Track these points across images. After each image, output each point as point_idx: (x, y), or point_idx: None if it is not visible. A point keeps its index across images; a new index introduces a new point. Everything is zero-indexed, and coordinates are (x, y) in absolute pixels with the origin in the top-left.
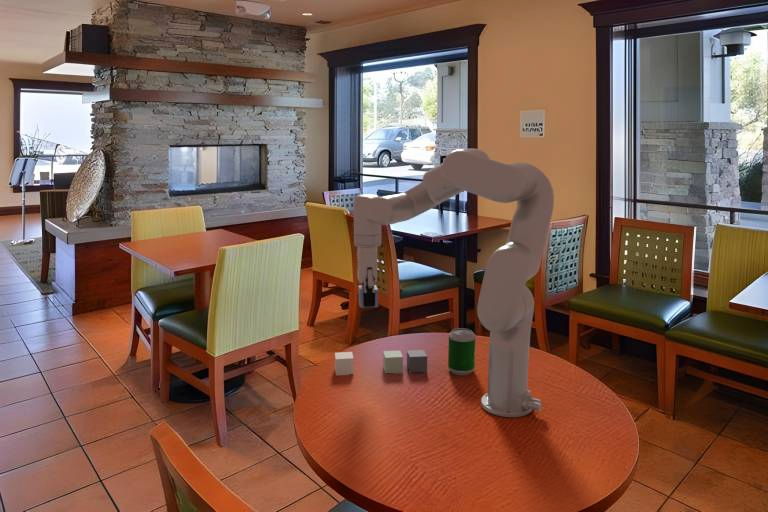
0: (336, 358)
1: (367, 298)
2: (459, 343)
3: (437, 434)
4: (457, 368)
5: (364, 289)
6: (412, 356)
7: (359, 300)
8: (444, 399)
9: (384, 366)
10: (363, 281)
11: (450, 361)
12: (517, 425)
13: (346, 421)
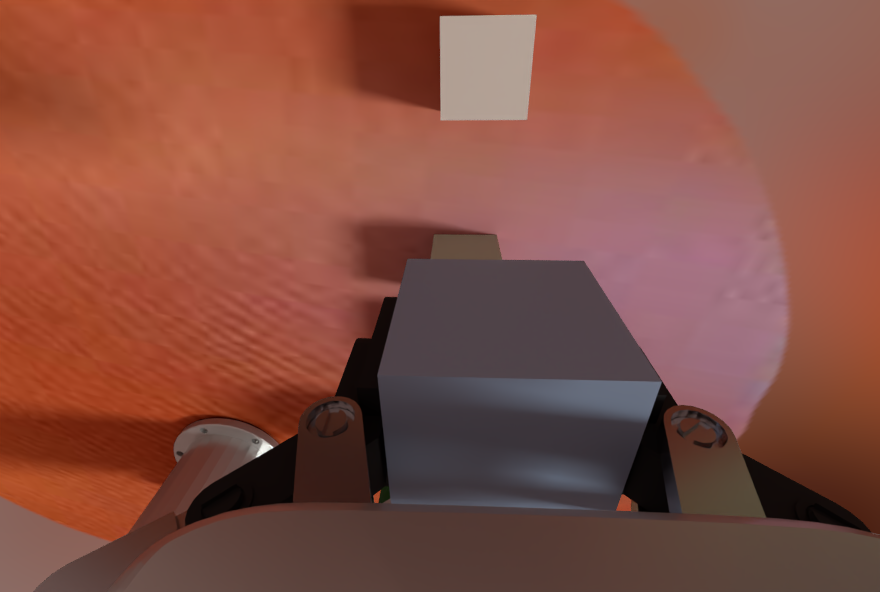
0: (449, 21)
1: (345, 378)
2: (380, 501)
3: (59, 305)
4: None
5: (318, 438)
6: None
7: (473, 284)
8: (253, 357)
9: (458, 241)
10: (672, 494)
11: None
12: (152, 448)
13: (40, 51)
